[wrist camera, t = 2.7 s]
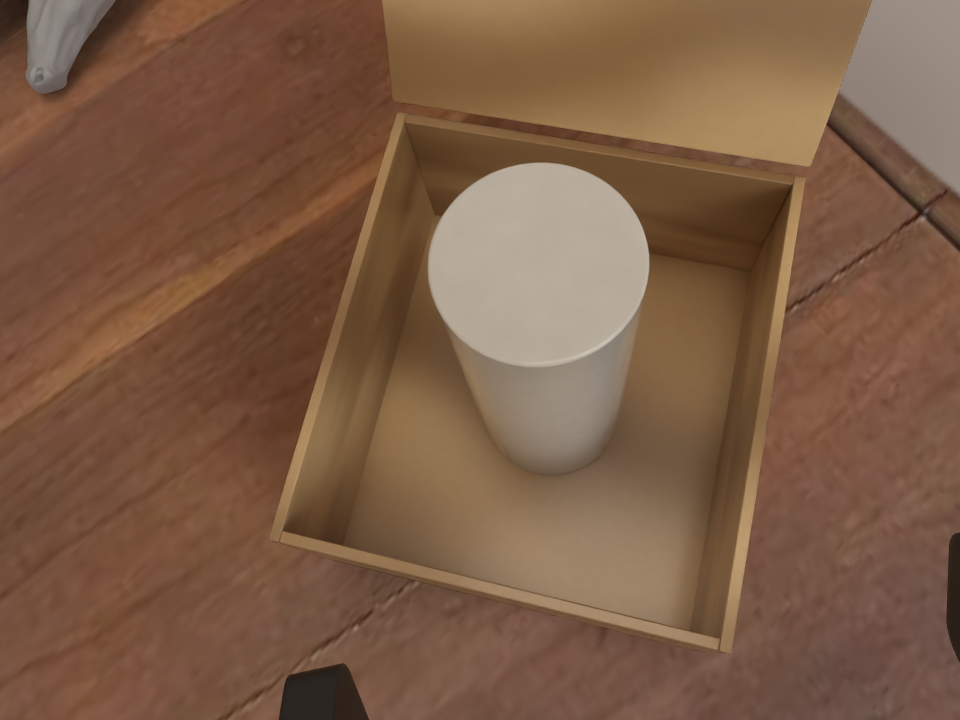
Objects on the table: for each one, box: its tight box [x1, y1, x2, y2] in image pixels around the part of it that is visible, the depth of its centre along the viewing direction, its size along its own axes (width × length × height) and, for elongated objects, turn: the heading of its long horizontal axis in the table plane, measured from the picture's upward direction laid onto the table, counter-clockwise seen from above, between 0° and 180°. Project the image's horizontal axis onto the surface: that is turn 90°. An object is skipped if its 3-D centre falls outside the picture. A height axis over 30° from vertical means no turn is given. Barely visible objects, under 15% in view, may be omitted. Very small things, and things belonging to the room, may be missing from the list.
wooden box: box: [268, 112, 805, 654], centre depth 26 cm, size 13×12×6 cm
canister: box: [427, 163, 650, 475], centre depth 23 cm, size 4×4×12 cm
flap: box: [382, 0, 872, 167], centre depth 22 cm, size 6×12×1 cm
